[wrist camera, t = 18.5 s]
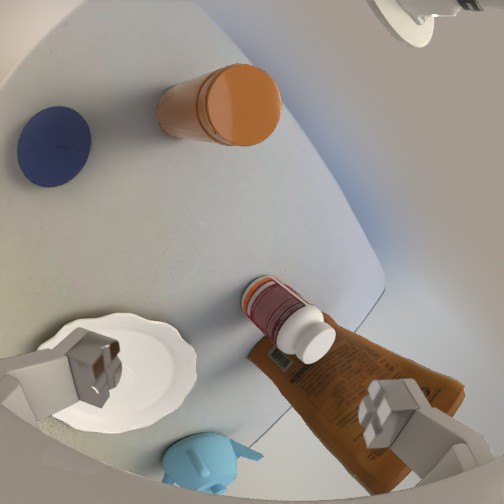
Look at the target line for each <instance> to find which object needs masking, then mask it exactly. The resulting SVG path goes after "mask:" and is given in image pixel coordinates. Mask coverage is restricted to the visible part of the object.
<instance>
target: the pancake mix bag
mask: <svg viewBox="0 0 504 504" xmlns="http://www.w3.org/2000/svg"><path fill="white" fill-rule="evenodd" d="M321 312H322V311H321ZM322 314H323V318H324V322H325V323H327V324H328V325H330V326H331V327H332V328H333V329H334V330H335V332H336V336H335V340H334V342H333V344H332V346H331V347H330V349H329V350H328V351H327V353H326V354H325V355H324V356H323V357H321V358H320V359H319V360H317V361H316V362H314V363H311V364H305V363H304V362H303V361H301V360H300V359H299V358H298V357H297V356H296V354H286V353H284V352H282V351H281V350H280V349H279V348H278V347H277V346H276V345H275V344H274V343H273V342H272V341H271V340H270V339H269V338H268V337H267V336H265V337H264V338H263V339H262V340H260V341H259V342H258V343H257V345H256V346H255V347H254V349H253V350H252V351H251V353H250V355H249V356H248V358H247V359H248V360H249V361H251V362H252V363H254V364H255V365H256V366H257V367H258V368H259V369H260V370H261V371H262V372H263V373H265V374H266V375H267V376H268V377H269V378H270V379H271V380H272V381H273V382H274V384H275V385H276V386H277V387H278V389H279V391H280V392H281V394H282V395H283V396H284V397H285V398H286V400H287V401H288V402H289V403H290V404H291V405H292V407H293V408H294V409H295V410H296V411H297V412H298V414H299V415H300V416H301V417H302V419H303V420H304V422H305V423H306V425H307V426H308V427H309V428H310V430H311V431H312V432H313V433H314V435H315V436H316V437H317V438H318V439H319V440H320V441H321V443H322V444H323V445H324V446H325V447H326V448H327V449H328V450H329V451H330V452H331V453H332V454H333V455H334V456H335V457H336V458H337V459H338V461H339V462H340V463H341V464H342V465H343V466H344V467H345V469H346V470H347V471H348V473H349V474H350V475H351V476H352V477H353V478H354V479H356V480H357V481H358V482H359V484H360V485H362V486H363V487H364V488H365V489H366V491H368V493H369V494H370V495H371V496H372V495H379V494H384V493H389V492H390V491H391V490H393V489H394V488H395V487H396V486H397V485H398V484H399V483H400V482H401V481H402V480H403V479H404V478H405V477H406V476H407V475H408V474H409V473H410V472H411V471H412V470H411V469H410V468H409V467H408V466H407V465H406V464H405V463H404V462H403V461H402V460H401V459H400V458H399V457H398V456H397V455H396V454H395V453H394V452H393V451H392V450H391V449H390V447H386V448H372V449H367V446H366V442H365V439H364V436H363V433H364V431H365V430H366V429H365V428H363V427H362V426H361V425H360V423H359V419H358V411H359V406H360V403H361V401H362V399H363V398H364V397H366V396H367V395H368V394H369V392H368V387H369V385H370V383H371V382H372V381H373V380H396V379H409V378H412V379H414V380H415V381H416V383H417V384H418V386H419V387H420V389H421V391H422V392H423V394H424V396H425V397H426V399H427V400H428V402H429V404H430V405H431V407H432V408H434V407H436V408H437V409H439V410H440V411H442V412H444V413H445V414H447V415H449V416H450V417H453V416H454V414H455V413H456V411H457V410H458V408H459V407H460V405H461V404H462V402H463V399H464V398H465V393H464V390H463V388H464V387H465V386H464V385H463V384H462V383H460V382H459V381H457V380H456V379H454V378H452V377H449V376H446V375H443V374H440V373H437V372H435V371H433V370H430V369H428V368H426V367H424V366H422V365H420V364H418V363H416V362H414V361H412V360H410V359H407V358H404V357H402V356H400V355H398V354H396V353H394V352H392V351H389V350H388V349H385V348H383V347H381V346H379V345H377V344H375V343H373V342H371V341H369V340H368V339H366V338H364V337H362V336H360V335H358V334H356V333H353V332H351V331H349V330H347V329H344V328H342V327H340V326H338V325H337V324H336V322H335V321H334V320H333V319H332V318H331V317H330V316H329V315H327V314H325V313H323V312H322Z"/></svg>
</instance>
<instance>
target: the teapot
mask: <svg viewBox="0 0 504 504" xmlns="http://www.w3.org/2000/svg"><path fill="white" fill-rule="evenodd" d="M237 456H242V457H246V458H249V459H252V460H256V461H259V460H260V459H261V458H262V457H263V455H262V454H261V453H259V452H256V451H254V450H252V449H250V448H248V447H246V446H244V445H242V444H240V443H238V442H236V441H234V440H232V439H228V438H227V437H225V436H223V435H220V434H216V433H211V432H206V433H199V434H195V435H192V436H189V437H186V438H184V439H182V440H180V441H178V442H176V443H175V444H173V445H172V446H171V447H170V448H169V449H168V450H167V451H166V453H165V455H164V457H163V460H162V467H163V469H164V471H165V474H164V477H163V480H162V482H163V483H166V484H170V485H174V482H175V483H176V484H177V485H179V486H180V487H182V488H187V489H191V490H196V491H201V492H206V493H213V494H218V495H221V494H223V493H225V492H226V491H227V490H228V489H227V488H226V486H228V485H229V484H230V483H232V482H233V481H234V480H235V479H236V475H237Z"/></svg>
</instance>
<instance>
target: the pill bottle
mask: <svg viewBox="0 0 504 504" xmlns="http://www.w3.org/2000/svg"><path fill="white" fill-rule="evenodd" d="M241 306H242V310H243V312H244V314H245V315H246V316H247V317H248V318H249V319H250V320H251V321H252V322H253V323H254V324H255V325H256V326H257V327H258V328H259V329H260V330H261V331H262V332H263V333H264V334H265V335H266V336H267V337H268V338H269V339H270V340H271V341H272V342H273V343H274V344H275V345H276V346H277V347H278V348H279V349H280V350H281V351H282V352H284V353H286V354H296V356H297V357H298V358H299V359H300V360H301V361H303V362H304V363H305V364H311V363H314V362H316V361H317V360H319V359H320V358H321V357H323V356H324V355H325V354H326V353H327V351H328V350H329V349H330V347H331V346H332V344H333V342H334V340H335V336H336V332H335V330H334V329H333V328H332V327H331V326H330V325H328V324H327V323H325V322H324V318H323V314H322V312H321V311H320V310H319V309H318V308H317V307H316V306H314V305H313V304H312V303H310V302H309V301H308V300H306V299H305V298H304V297H302V296H301V295H300V294H299V293H297V292H296V291H295V290H293V289H292V288H291V287H289V286H288V285H287V284H285V283H284V282H283V281H281V280H280V279H279V278H277V277H275V276H271V275H267V276H263V277H260V278H258V279H256V280H255V281H253V282H252V283H251V284H250V285H249V286H248V287H247V289H246V290H245V292H244V294H243V297H242V301H241Z"/></svg>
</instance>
